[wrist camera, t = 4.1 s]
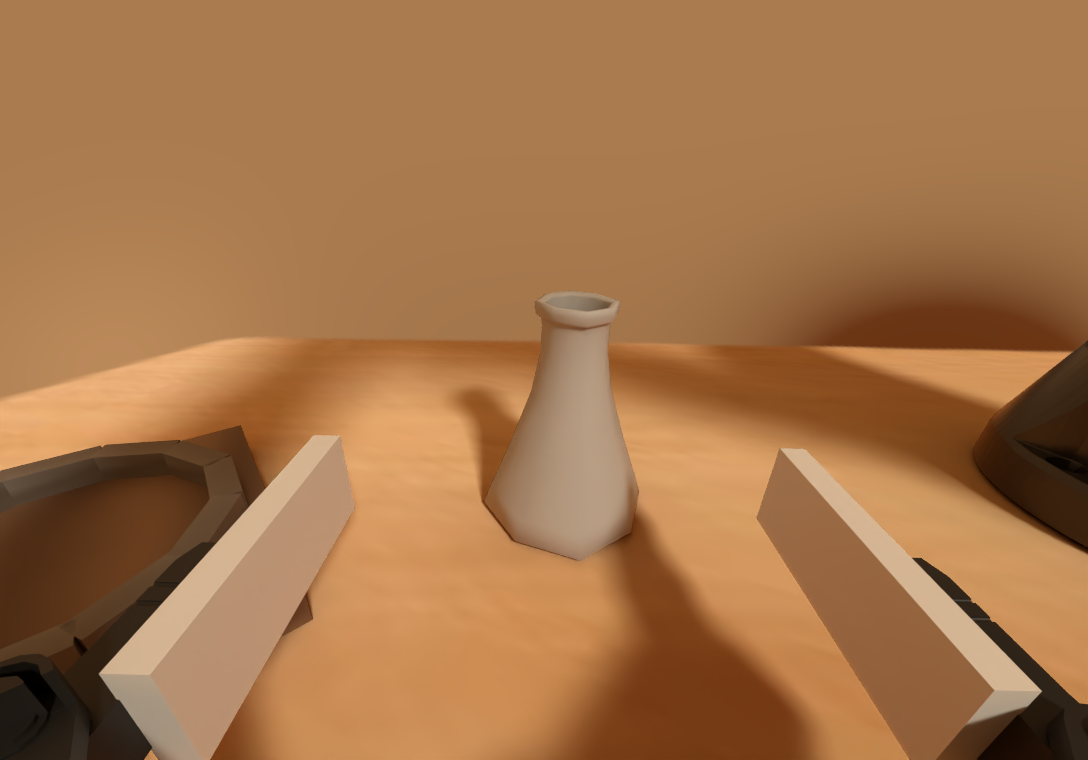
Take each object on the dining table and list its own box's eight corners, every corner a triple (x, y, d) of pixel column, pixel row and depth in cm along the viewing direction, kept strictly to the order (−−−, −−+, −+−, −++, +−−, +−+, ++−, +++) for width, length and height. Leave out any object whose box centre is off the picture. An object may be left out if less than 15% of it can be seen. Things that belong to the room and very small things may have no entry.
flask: (456, 507, 20) (443, 300, 16) (547, 442, 25) (556, 273, 21) (587, 593, 16) (617, 348, 12) (662, 494, 21) (702, 300, 17)
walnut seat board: (247, 448, 23) (234, 406, 22) (312, 619, 15) (295, 563, 13) (-166, 572, 16) (-220, 516, 14) (-564, 1099, 7) (-784, 1065, 6)
